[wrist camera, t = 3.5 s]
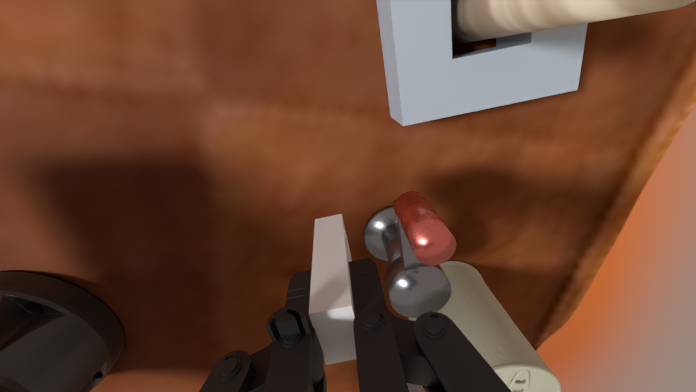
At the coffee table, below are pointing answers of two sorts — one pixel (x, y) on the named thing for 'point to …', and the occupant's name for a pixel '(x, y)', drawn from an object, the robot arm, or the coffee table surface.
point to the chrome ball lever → (419, 258)
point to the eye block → (468, 64)
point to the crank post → (382, 235)
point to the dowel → (540, 15)
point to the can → (494, 332)
